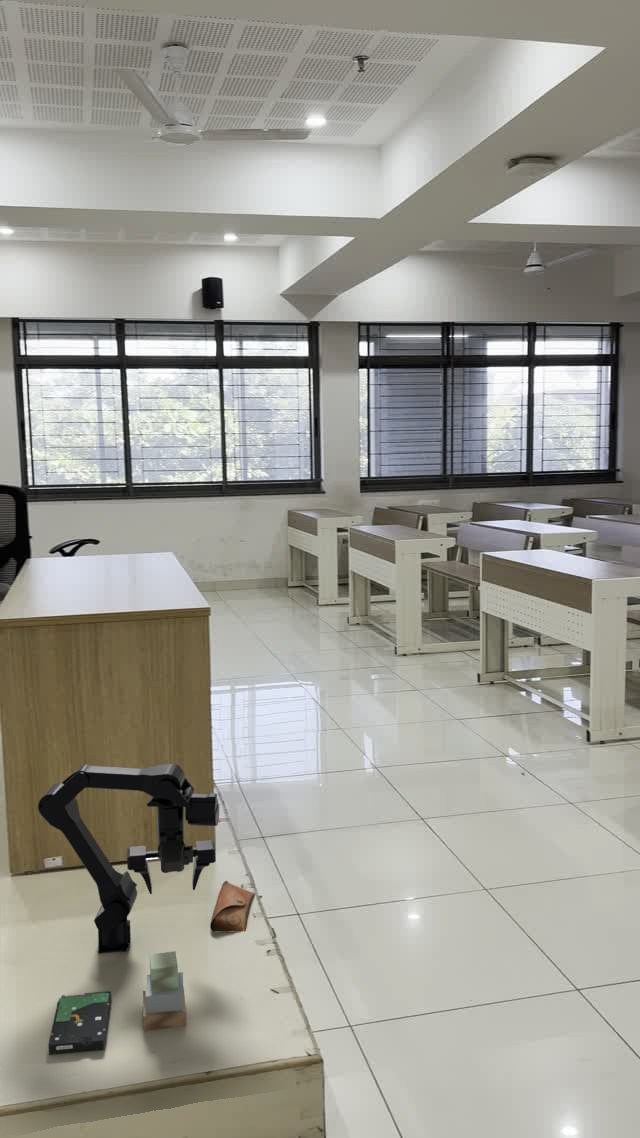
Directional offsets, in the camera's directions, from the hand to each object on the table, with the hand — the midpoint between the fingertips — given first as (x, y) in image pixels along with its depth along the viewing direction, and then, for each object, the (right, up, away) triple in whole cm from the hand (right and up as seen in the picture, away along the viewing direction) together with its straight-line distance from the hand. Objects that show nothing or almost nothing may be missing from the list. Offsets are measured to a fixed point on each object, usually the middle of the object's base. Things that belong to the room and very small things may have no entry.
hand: (172, 891), depth 202 cm
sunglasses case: (+12, -11, +17) cm, 23 cm away
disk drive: (-13, -18, -24) cm, 33 cm away
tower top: (+2, -14, -21) cm, 26 cm away
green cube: (+2, -10, -22) cm, 24 cm away
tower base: (+2, -17, -21) cm, 27 cm away
